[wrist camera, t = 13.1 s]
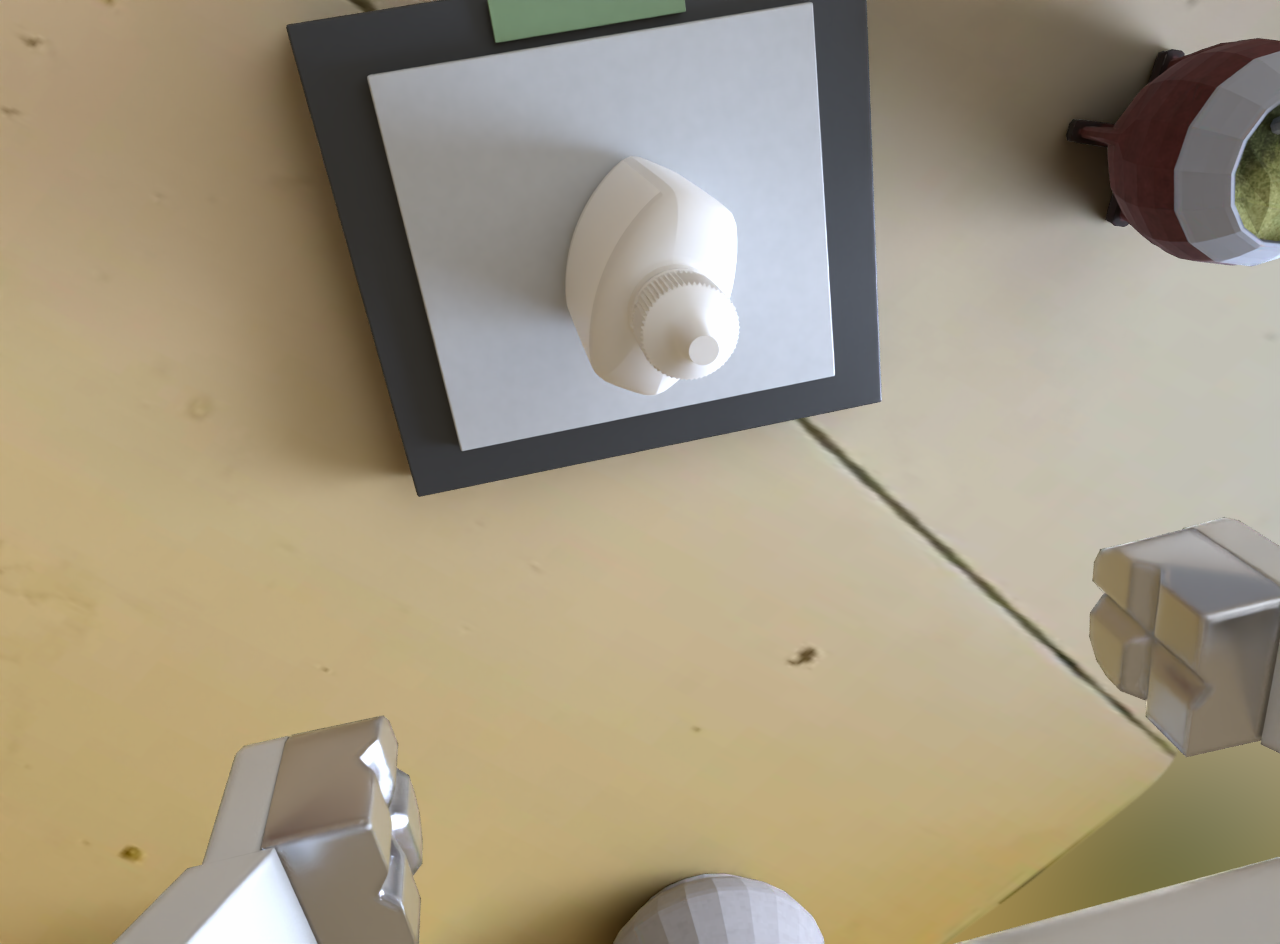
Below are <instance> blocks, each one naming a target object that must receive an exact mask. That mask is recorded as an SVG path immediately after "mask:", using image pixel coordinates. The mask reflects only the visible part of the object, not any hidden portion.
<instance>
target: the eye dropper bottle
mask: <svg viewBox="0 0 1280 944" xmlns="http://www.w3.org/2000/svg"><path fill="white" fill-rule="evenodd" d="M736 259H737V230H736V223H735V220H734V218H733V215H732V213H731V212H730V211H729V210H728V209H727V208H726V207H725V206H724V205H722V204H721V203H720V202H719V201H717V200H716V199H715V198H713V197H712V196H710V195H709V194H707V193H706V192H705V191H703V190H702V189H700V188H699V187H697V186H696V185H694V184H693V183H691V182H690V181H688V180H687V179H685V178H684V177H682V176H681V175H679V174H678V173H676V172H674V171H672V170H670V169H667V168H665V167H663V166H660V165H658V164H656V163H653V162H651V161H649V160H646V159H643V158H641V157H634V156H629V157H627V158H625V159H623V160H621V161H620V162H619V163H618V164H617V165H616V166H615V167H613V168H612V170H611V171H610V172H609V173H608V174H607V175H606V176H605V177H604V179H603V180H602V181H601V182H600V184H599V185H598V187H597V188H596V189H595V191H594V192H593V194H592V195H591V197H590V198H589V200H588V202H587V204H586V205H585V207H584V209H583V211H582V213H581V215H580V218H579V220H578V222H577V225H576V227H575V230H574V233H573V236H572V240H571V243H570V248H569V252H568V258H567V265H566V277H565V295H566V304H567V307H568V310H569V312H570V315H571V317H572V320H573V323H574V325H575V328H576V330H577V333H578V335H579V338H580V340H581V343H582V345H583V347H584V350H585V352H586V355H587V357H588V359H589V362H590V364H591V366H592V368H593V370H594V372H595V373H596V374H597V375H598V376H599V377H600V378H602V379H603V380H604V381H606V382H608V383H610V384H613V385H615V386H618V387H621V388H624V389H626V390H629V391H632V392H636V393H639V394H643V395H657V394H659V393H662V392H664V391H665V390H667V389H668V388H669V387H671V386H672V385H673V384H674V383H675V382H677V381H678V380H679V379H681V380H683V379H685V380H688V379H690V380H693V379H694V378H695V379H696V380H697V379H698V378H699V377H700V378H702V377H703V376H707V375H708V374H712V372H715V371H716V370H717V369H719V368H720V367H721V365H724V362H726V361H727V359H728V358H729V357H731V356H730V354H731V353H733V349H734V348H736V347H735V345H736V343H737V341H736V340H737V339H738V338H739V337H738V336H737V335H738V334H739V331H738V329H739V328H740V327H739V326H738V324H739V321H738V316H737V311H736V310H735V307H734V306H733V303H732V302H731V301H730V295H731V291H732V287H733V282H734V276H735V268H736Z"/></svg>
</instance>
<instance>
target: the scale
mask: <svg viewBox="0 0 1280 944" xmlns="http://www.w3.org/2000/svg"><path fill="white" fill-rule="evenodd" d="M286 29H287V32H288V36H289V40H290V43H291V47H292V50H293V54H294V57H295V61H296V65H297V68H298V72H299V75H300V79H301V82H302V86H303V89H304V93H305V97H306V100H307V104H308V107H309V111H310V114H311V118H312V122H313V125H314V129H315V132H316V136H317V139H318V143H319V146H320V150H321V154H322V157H323V161H324V164H325V168H326V171H327V175H328V179H329V182H330V186H331V189H332V193H333V196H334V200H335V203H336V207H337V211H338V214H339V218H340V221H341V225H342V228H343V232H344V236H345V239H346V243H347V246H348V250H349V253H350V257H351V260H352V264H353V268H354V271H355V275H356V278H357V282H358V285H359V289H360V293H361V296H362V300H363V303H364V307H365V310H366V314H367V317H368V321H369V325H370V328H371V332H372V335H373V339H374V342H375V346H376V350H377V353H378V357H379V360H380V364H381V367H382V371H383V374H384V378H385V382H386V385H387V389H388V392H389V396H390V399H391V403H392V407H393V410H394V414H395V417H396V421H397V424H398V428H399V431H400V435H401V439H402V442H403V446H404V449H405V453H406V456H407V460H408V464H409V467H410V471H411V474H412V478H413V481H414V485H415V488H416V492H417V495H418V496H419V497H420V496H425V495H430V494H435V493H440V492H445V491H450V490H454V489H459V488H464V487H469V486H474V485H479V484H484V483H488V482H493V481H498V480H503V479H508V478H513V477H518V476H522V475H527V474H532V473H537V472H542V471H547V470H552V469H556V468H561V467H566V466H571V465H576V464H581V463H586V462H591V461H595V460H600V459H605V458H610V457H615V456H620V455H625V454H629V453H634V452H639V451H644V450H649V449H654V448H659V447H663V446H668V445H673V444H678V443H683V442H688V441H693V440H697V439H702V438H707V437H712V436H717V435H722V434H727V433H731V432H736V431H741V430H746V429H751V428H756V427H761V426H765V425H770V424H775V423H780V422H785V421H790V420H795V419H800V418H804V417H809V416H814V415H819V414H824V413H829V412H834V411H838V410H843V409H848V408H853V407H858V406H863V405H868V404H872V403H877V402H881V373H880V347H879V320H878V294H877V267H876V240H875V214H874V187H873V160H872V134H871V107H870V81H869V54H868V27H867V1H866V0H438V1H432V2H426V3H419V4H413V5H407V6H401V7H394V8H388V9H382V10H376V11H369V12H363V13H357V14H351V15H344V16H338V17H332V18H326V19H319V20H313V21H307V22H301V23H294V24H288V25H287V26H286ZM629 156H634V157H641V158H643V159H646V160H649V161H651V162H653V163H656V164H658V165H660V166H663V167H665V168H667V169H670V170H672V171H674V172H676V173H678V174H679V175H681V176H682V177H684V178H685V179H687V180H688V181H690V182H691V183H693V184H694V185H696V186H697V187H699V188H700V189H702V190H703V191H705V192H706V193H707V194H709V195H710V196H712V197H713V198H715V199H716V200H717V201H719V202H720V203H721V204H722V205H724V206H725V207H726V208H727V209H728V210H729V211H730V212H731V213H732V215H733V218H734V220H735V223H736V230H737V259H736V268H735V276H734V282H733V287H732V291H731V295H730V301H731V302H732V303H733V306H734V307H735V310H736V311H737V316H738V321H739V324H738V326H739V327H740V328H739V329H738V331H739V334H738V335H737V336H738V337H739V338H738V339H737V340H736V341H737V343H736V345H735V347H736V348H734V349H733V353H731V354H730V356H731V357H729V358H728V359H727V361H726V362H724V365H721V367H720V368H719V369H717V370H716V371H715V372H712V374H708V375H707V376H703V377H702V378H700V377H699V378H698V379H697V380H696V379H695V378H694V379H693V380H690V379H688V380H685V379H683V380H681V379H679V380H678V381H677V382H675V383H674V384H673V385H672V386H671V387H669V388H668V389H667V390H665V391H664V392H662V393H659V394H657V395H643V394H639V393H636V392H632V391H629V390H626V389H624V388H621V387H618V386H615V385H613V384H610V383H608V382H606V381H604V380H603V379H602V378H600V377H599V376H598V375H597V374H596V373H595V372H594V370H593V368H592V366H591V364H590V362H589V359H588V357H587V355H586V352H585V350H584V347H583V345H582V343H581V340H580V338H579V335H578V333H577V330H576V328H575V325H574V323H573V320H572V317H571V315H570V312H569V310H568V307H567V304H566V295H565V277H566V265H567V258H568V252H569V248H570V243H571V240H572V236H573V233H574V230H575V227H576V225H577V222H578V220H579V218H580V215H581V213H582V211H583V209H584V207H585V205H586V204H587V202H588V200H589V198H590V197H591V195H592V194H593V192H594V191H595V189H596V188H597V187H598V185H599V184H600V182H601V181H602V180H603V179H604V177H605V176H606V175H607V174H608V173H609V172H610V171H611V170H612V168H613V167H615V166H616V165H617V164H618V163H619V162H620V161H621V160H623V159H625V158H627V157H629Z"/></svg>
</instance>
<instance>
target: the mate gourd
mask: <svg viewBox="0 0 1280 944" xmlns="http://www.w3.org/2000/svg"><path fill="white" fill-rule="evenodd" d="M1066 139H1067V141H1072V142H1076V143H1081V144H1088V145H1095V146H1102V147H1108V166H1109V177H1110V187H1111V189H1112V192H1113V195H1112V198H1111V201H1110V204H1109V207H1108V211H1107V215H1106V220H1107V221H1108V222H1111V223H1112V224H1113V225H1115V226H1122V227H1125V226H1127V225H1128V224H1130V225H1131V226H1133V227H1134V228H1135V229H1136V230H1137V231H1138V232H1139V233H1140V234H1141V235H1142V236H1144V237H1145V238H1146V239H1147V240H1149V241H1150V242H1151V243H1152V244H1154V245H1156V246H1158V247H1160V248H1161V249H1163V250H1164V251H1165V252H1167V253H1169V254H1171V255H1173V256H1176V257H1178V258H1181V259H1186V260H1192V261H1199V262H1207V263H1216V264H1224V265H1246V266H1255V265H1258V264H1261V263H1264V262H1268V261H1271V260H1274V259H1277V258H1280V41H1277V40H1269V39H1260V38H1256V39H1249V40H1241V41H1237V42H1228V43H1220V44H1217V45H1214V46H1211V47H1208V48H1205V49H1202V50H1200V51H1197V52H1194V53H1192V54H1189V55H1186V56H1184V53H1183V52H1182V51H1179V50H1173V49H1171V50H1168V51H1162V52H1160V53H1159V54H1158V56H1157V59H1156V61H1155V64H1154V67H1153V70H1152V73H1151V76H1150V79H1149V82H1148V85H1146V86H1145V87H1144V88H1142V89H1141V90H1140V92H1139V93H1138V94H1137V95H1136V96H1135V98H1134V99H1133V100H1132V102H1131V103H1130V104H1129V106H1128V107H1127V108H1126V110H1125V111H1124V112H1123V114H1122V115H1121V116H1120V118H1119V119H1118V120H1117V122H1116V123H1115V124H1109V123H1102V122H1095V121H1088V120H1077V119H1073V120H1072V121H1071V122H1070V124H1069V127H1068V131H1067V134H1066Z"/></svg>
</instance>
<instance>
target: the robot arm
mask: <svg viewBox="0 0 1280 944" xmlns="http://www.w3.org/2000/svg"><path fill="white" fill-rule="evenodd" d="M1092 581H1093V582H1094V583H1095V584H1096V585H1097V586H1098V587H1099V589H1100V590H1101V591H1102V592H1103V593H1104V594H1103V595H1102V597H1101V598H1100V600H1099V601H1098V602H1097V604H1096V605H1095V607H1094V608H1093V609H1092V611H1091V612H1090V634H1089V637H1090V641H1091V644H1092V647H1093V650H1094V654H1095V657H1096V660H1097V662H1098V663H1099V665H1100V667H1101V668H1102V670H1103V672H1104V673H1105V675H1106V676H1107V677H1108V678H1109V680H1110V681H1111V682H1112V683H1113V684H1114V685H1115V686H1116V687H1117V688H1118V689H1119V690H1120V691H1122V692H1125V693H1127V694H1130V695H1133V696H1135V697H1138V698H1141V699H1143V700H1146V717H1147V718H1148V719H1149V720H1150V721H1151V722H1152V723H1153V724H1154V725H1155V726H1156V727H1157V728H1158V729H1159V730H1160V731H1161V732H1162V733H1163V734H1164V735H1165V736H1166V737H1167V738H1168V739H1169V740H1170V741H1171V742H1172V743H1173V744H1174V745H1175V746H1176V747H1177V748H1178V749H1179V750H1180V751H1181V752H1182V753H1183V754H1184V755H1185V756H1186V757H1189V756H1194V755H1198V754H1202V753H1207V752H1211V751H1216V750H1220V749H1225V748H1229V747H1234V746H1238V745H1243V744H1247V743H1251V742H1256V741H1260V740H1261V745H1263V746H1266V747H1268V748H1270V749H1272V750H1274V751H1276V752H1278V753H1280V546H1279V545H1277V544H1276V543H1274V542H1272V541H1271V540H1269V539H1268V538H1266V537H1265V536H1263V535H1261V534H1260V533H1258V532H1257V531H1255V530H1253V529H1252V528H1250V527H1249V526H1247V525H1246V524H1244V523H1242V522H1241V521H1239V520H1235V519H1230V518H1225V517H1223V518H1219V519H1216V520H1212V521H1208V522H1204V523H1200V524H1197V525H1193V526H1189V527H1185V528H1183V529H1182V530H1179V531H1175V532H1171V533H1167V534H1162V535H1158V536H1154V537H1150V538H1146V539H1141V540H1137V541H1133V542H1129V543H1125V544H1120V545H1116V546H1112V547H1108V548H1104V549H1100V551H1099V553H1098V555H1097V557H1096V559H1095V561H1094V569H1093V580H1092ZM397 757H398V742H397V739H396V737H395V734H394V732H393V729H392V726H391V724H390V721H389V720H388V719H387V718H386V717H384V716H379V717H374V718H369V719H364V720H360V721H355V722H350V723H345V724H341V725H336V726H331V727H326V728H322V729H317V730H312V731H307V732H303V733H298V734H293V735H291V736H290V737H288V736H285V737H281V738H276V739H272V740H267V741H263V742H259V743H254V744H250V745H245V746H243V747H242V748H241V749H240V750H239V751H238V752H237V753H236V755H235V757H234V760H233V763H232V767H231V770H230V773H229V777H228V780H227V783H226V787H225V790H224V793H223V796H222V800H221V803H220V806H219V810H218V813H217V816H216V820H215V823H214V826H213V829H212V833H211V836H210V839H209V843H208V846H207V849H206V853H205V856H204V859H203V862H202V865H199V866H195V867H191V868H187V869H186V870H185V871H184V872H183V873H182V874H181V875H180V876H179V877H178V878H177V879H176V880H175V881H174V882H173V883H172V884H171V885H170V886H169V887H168V888H167V889H166V890H165V891H164V892H163V893H162V894H161V895H160V896H159V897H158V898H157V899H156V900H155V901H154V902H153V903H152V904H151V905H150V906H149V907H148V908H147V909H146V910H145V911H144V912H143V913H142V914H141V915H140V916H139V917H138V918H137V919H136V920H135V921H134V922H133V923H132V924H131V925H130V926H129V927H128V928H127V929H126V930H125V931H124V932H123V933H122V934H121V935H120V936H119V937H118V938H117V939H116V940H115V941H114V942H113V943H112V944H419V929H420V907H421V897H420V894H419V892H418V889H417V886H416V883H415V880H414V878H413V875H414V874H415V873H416V871H417V870H418V869H419V867H420V866H421V864H422V850H423V839H422V830H421V820H420V812H419V808H418V804H417V799H416V795H415V791H414V788H413V785H412V782H411V779H410V776H409V775H408V774H406V773H404V772H403V771H401V770H399V769H398V768H397ZM955 944H1280V857H1277V858H1273V859H1269V860H1266V861H1262V862H1258V863H1254V864H1251V865H1247V866H1243V867H1239V868H1235V869H1232V870H1228V871H1224V872H1220V873H1217V874H1213V875H1209V876H1206V877H1202V878H1198V879H1194V880H1190V881H1187V882H1183V883H1179V884H1175V885H1172V886H1168V887H1164V888H1160V889H1157V890H1153V891H1149V892H1145V893H1142V894H1138V895H1134V896H1130V897H1127V898H1123V899H1119V900H1116V901H1112V902H1108V903H1104V904H1100V905H1097V906H1093V907H1089V908H1086V909H1082V910H1078V911H1074V912H1070V913H1067V914H1063V915H1059V916H1055V917H1052V918H1048V919H1044V920H1041V921H1037V922H1033V923H1030V924H1026V925H1022V926H1018V927H1015V928H1011V929H1007V930H1004V931H1000V932H996V933H992V934H988V935H985V936H981V937H977V938H974V939H970V940H966V941H962V942H959V943H955Z"/></svg>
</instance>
